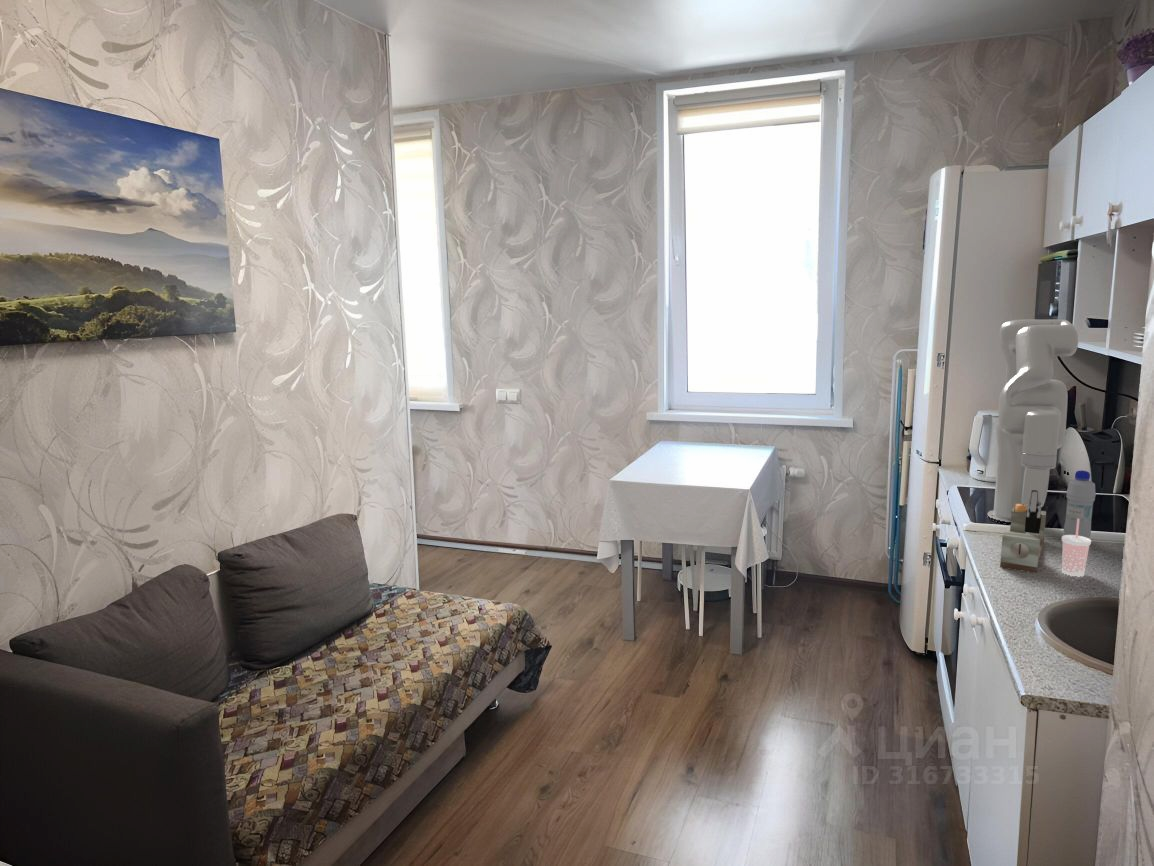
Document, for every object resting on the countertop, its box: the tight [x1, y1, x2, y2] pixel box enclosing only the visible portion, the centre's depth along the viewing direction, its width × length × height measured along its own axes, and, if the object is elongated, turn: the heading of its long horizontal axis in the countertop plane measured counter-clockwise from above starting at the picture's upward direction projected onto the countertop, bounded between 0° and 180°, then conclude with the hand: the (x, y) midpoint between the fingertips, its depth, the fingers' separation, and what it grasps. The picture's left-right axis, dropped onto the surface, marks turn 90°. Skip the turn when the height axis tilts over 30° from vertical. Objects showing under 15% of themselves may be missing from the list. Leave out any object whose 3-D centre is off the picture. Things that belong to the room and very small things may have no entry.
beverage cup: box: [1061, 519, 1092, 578], centre depth 189 cm, size 6×6×14 cm
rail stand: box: [999, 508, 1047, 574], centre depth 204 cm, size 28×8×8 cm, turn 146°
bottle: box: [1063, 470, 1097, 539], centre depth 211 cm, size 7×7×20 cm
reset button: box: [1015, 504, 1027, 512], centre depth 214 cm, size 3×3×4 cm
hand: (1032, 529), depth 197 cm, fingers closed on carriage, 2 cm apart
